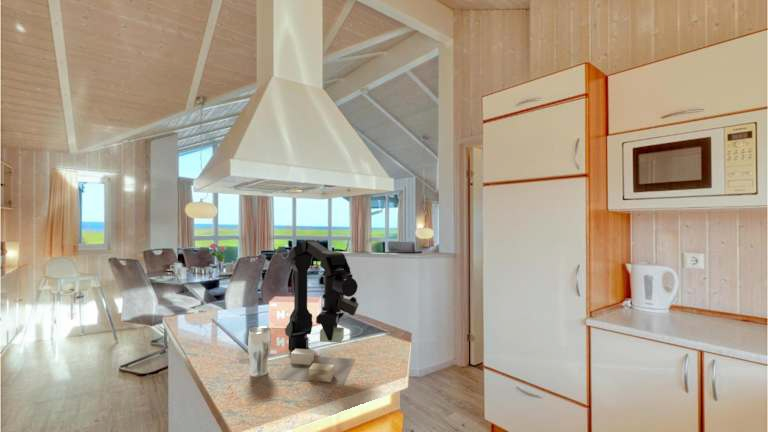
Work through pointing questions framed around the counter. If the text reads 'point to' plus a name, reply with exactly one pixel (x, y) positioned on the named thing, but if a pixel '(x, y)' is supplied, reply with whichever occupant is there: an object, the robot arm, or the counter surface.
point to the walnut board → (302, 370)
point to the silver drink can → (259, 350)
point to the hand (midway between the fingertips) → (331, 338)
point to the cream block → (302, 356)
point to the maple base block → (321, 372)
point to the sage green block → (337, 335)
